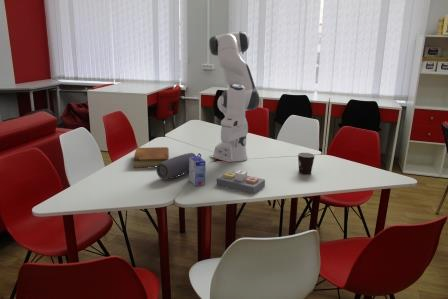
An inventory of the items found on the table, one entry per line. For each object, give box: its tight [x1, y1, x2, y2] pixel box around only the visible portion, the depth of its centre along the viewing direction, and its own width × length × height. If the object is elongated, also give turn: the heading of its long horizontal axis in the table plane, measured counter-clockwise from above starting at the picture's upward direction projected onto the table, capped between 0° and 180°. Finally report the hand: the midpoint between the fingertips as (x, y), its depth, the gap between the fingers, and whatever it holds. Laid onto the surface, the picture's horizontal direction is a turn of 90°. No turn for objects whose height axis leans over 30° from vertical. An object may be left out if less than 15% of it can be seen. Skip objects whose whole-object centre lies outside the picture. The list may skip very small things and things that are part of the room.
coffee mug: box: [297, 152, 316, 176], centre depth 205 cm, size 12×9×10 cm
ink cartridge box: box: [188, 153, 206, 187], centre depth 185 cm, size 10×6×14 cm, turn 23°
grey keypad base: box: [216, 171, 266, 195], centre depth 184 cm, size 20×12×4 cm, turn 59°
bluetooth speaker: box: [155, 152, 197, 180], centre depth 195 cm, size 23×9×10 cm, turn 145°
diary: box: [132, 146, 170, 169], centre depth 217 cm, size 23×19×6 cm
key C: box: [246, 176, 259, 184], centre depth 181 cm, size 4×4×5 cm
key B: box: [234, 169, 248, 182], centre depth 183 cm, size 4×4×5 cm
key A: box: [223, 171, 235, 179], centre depth 186 cm, size 4×4×5 cm
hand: (234, 147), depth 184 cm, fingers closed
